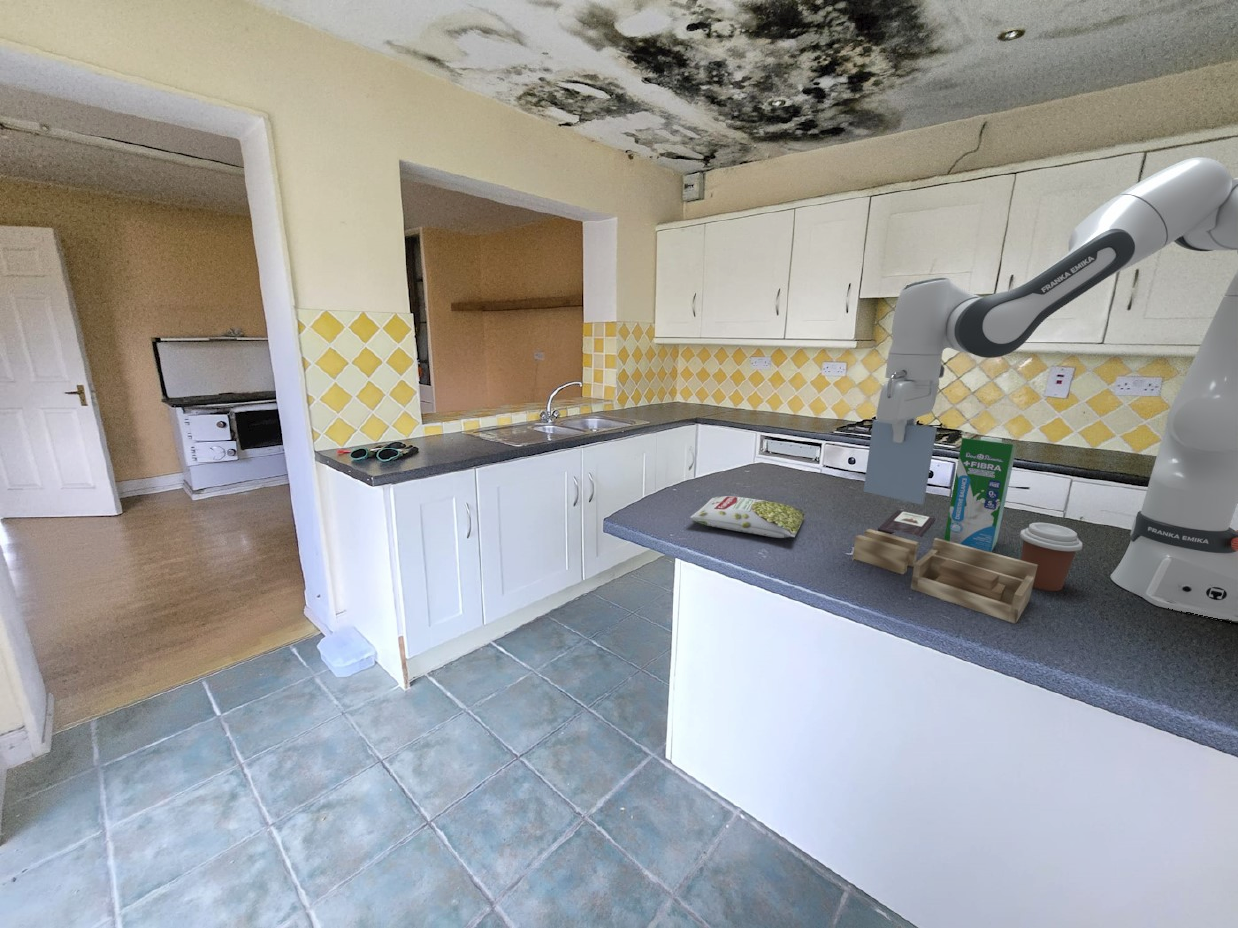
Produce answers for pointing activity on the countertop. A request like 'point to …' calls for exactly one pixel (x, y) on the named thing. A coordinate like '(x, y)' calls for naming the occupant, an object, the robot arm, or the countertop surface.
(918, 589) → the rack
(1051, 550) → the coffee cup
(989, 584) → the offcut
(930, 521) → the chocolate bar
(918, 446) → the sheet
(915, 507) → the countertop surface
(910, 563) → the stand
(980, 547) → the milk carton
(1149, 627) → the countertop surface
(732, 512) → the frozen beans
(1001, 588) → the offcut
